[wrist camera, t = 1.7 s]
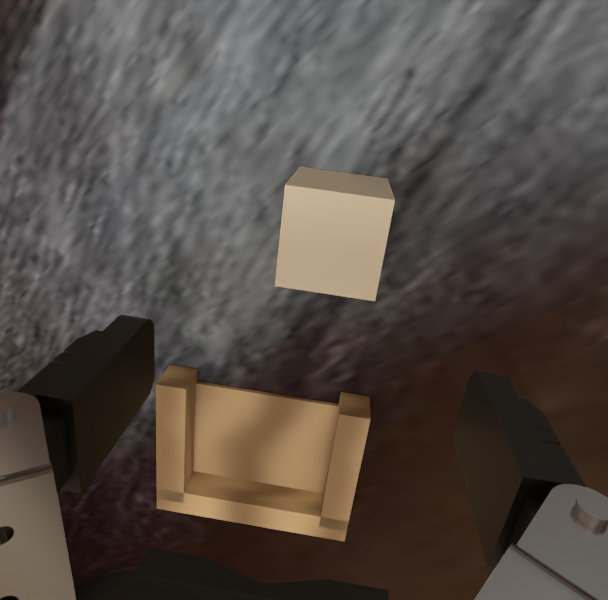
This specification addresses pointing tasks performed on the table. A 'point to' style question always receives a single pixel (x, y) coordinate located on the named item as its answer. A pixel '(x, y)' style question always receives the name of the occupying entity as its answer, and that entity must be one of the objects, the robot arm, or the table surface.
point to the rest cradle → (258, 455)
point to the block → (334, 233)
